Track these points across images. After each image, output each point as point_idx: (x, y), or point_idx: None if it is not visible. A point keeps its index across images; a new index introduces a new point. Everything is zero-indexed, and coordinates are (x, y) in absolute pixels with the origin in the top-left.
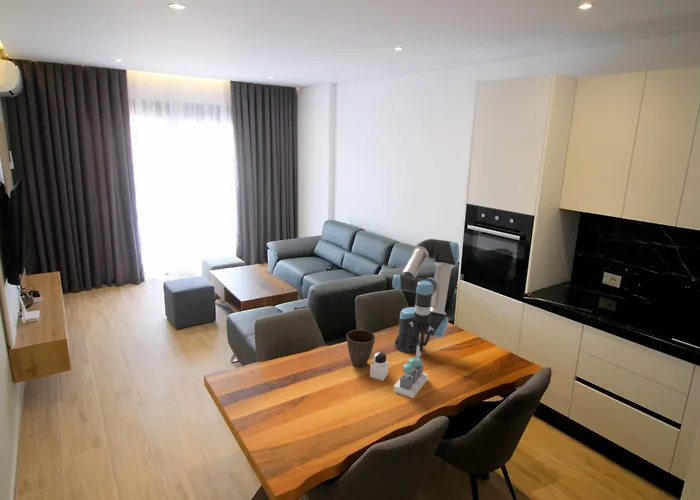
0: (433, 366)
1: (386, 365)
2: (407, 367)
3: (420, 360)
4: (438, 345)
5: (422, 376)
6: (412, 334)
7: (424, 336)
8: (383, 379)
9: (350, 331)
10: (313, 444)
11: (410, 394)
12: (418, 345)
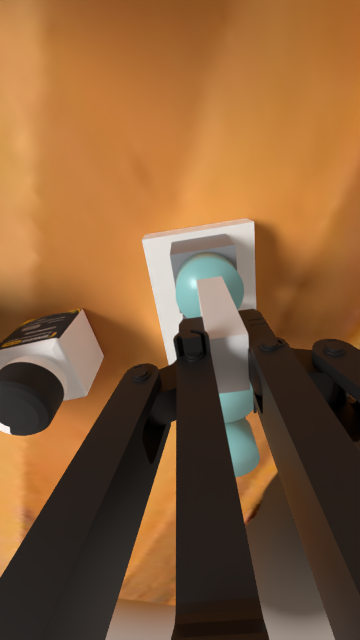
0: (214, 10)
1: (73, 365)
2: (235, 471)
3: (228, 283)
4: None
5: (238, 261)
6: (126, 554)
7: (357, 456)
8: (102, 353)
9: None
10: (162, 563)
11: None
12: (229, 383)
